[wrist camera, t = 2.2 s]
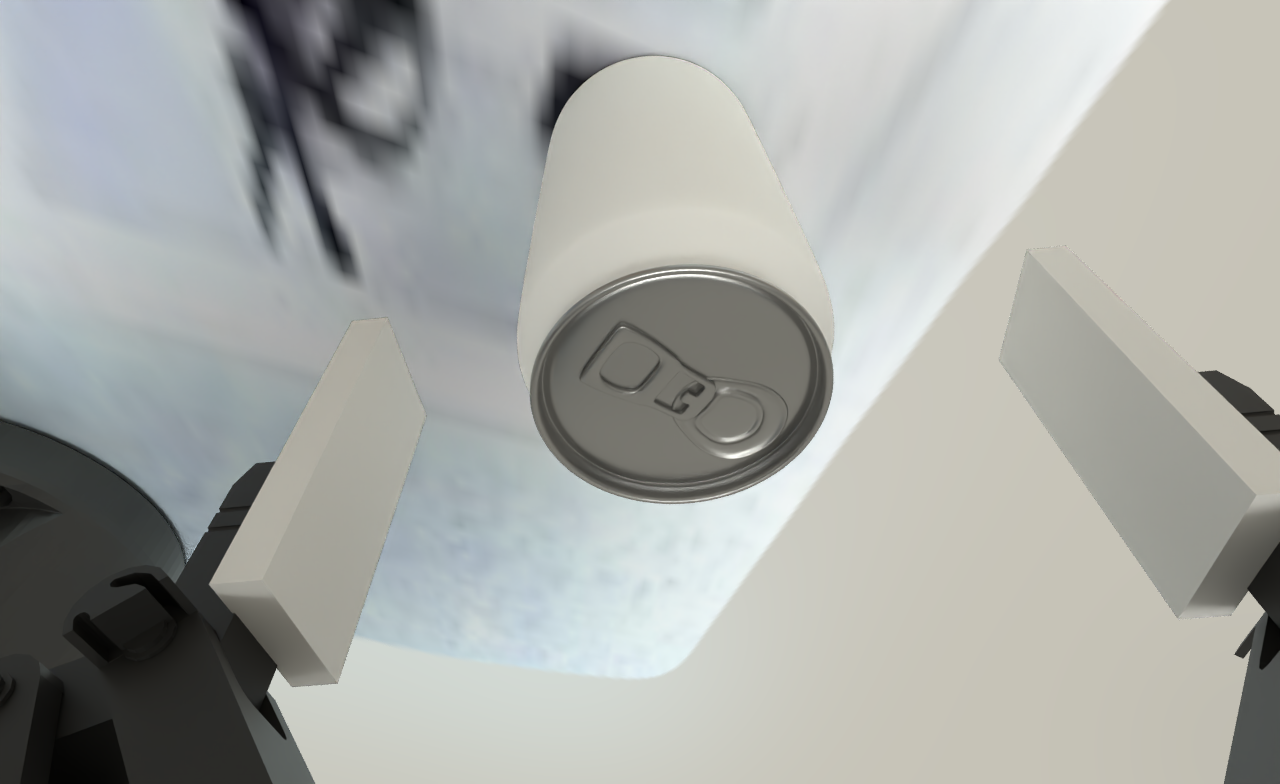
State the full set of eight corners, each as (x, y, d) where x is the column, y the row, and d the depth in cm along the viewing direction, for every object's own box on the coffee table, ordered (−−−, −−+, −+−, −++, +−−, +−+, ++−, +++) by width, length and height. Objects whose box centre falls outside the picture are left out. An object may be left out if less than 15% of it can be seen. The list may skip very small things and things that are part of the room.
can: (675, 284, 25) (713, 555, 16) (512, 189, 23) (445, 442, 14) (796, 131, 22) (934, 358, 13) (621, 1, 20) (633, 164, 10)
